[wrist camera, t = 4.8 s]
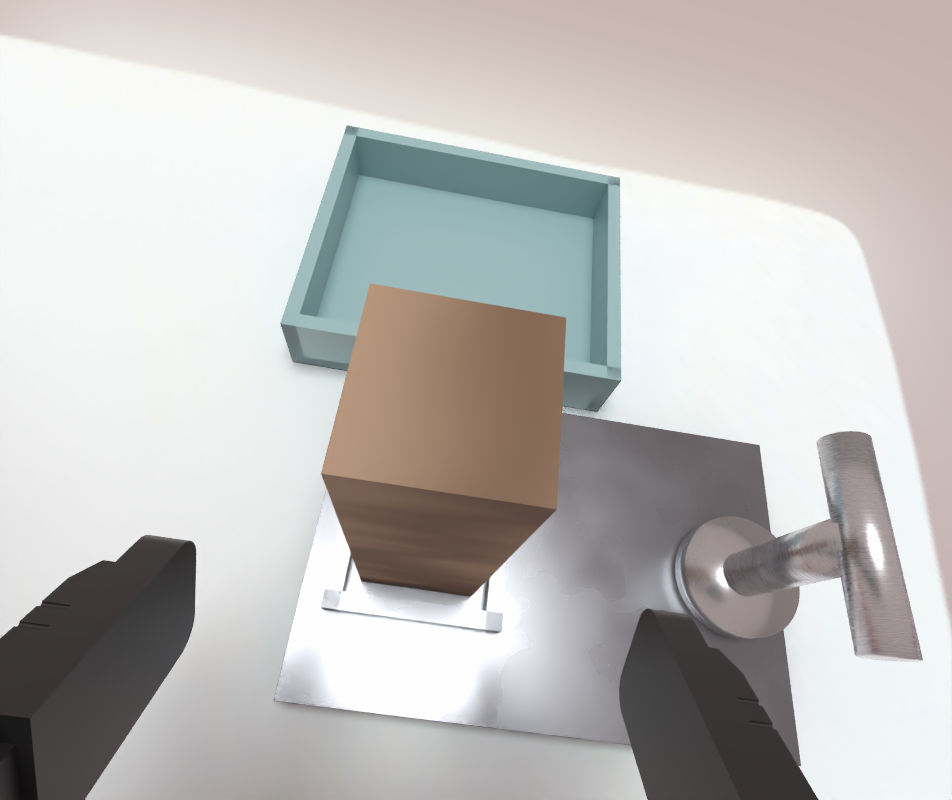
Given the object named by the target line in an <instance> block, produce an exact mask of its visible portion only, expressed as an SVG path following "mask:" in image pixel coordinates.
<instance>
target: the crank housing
mask: <svg viewBox="0 0 952 800" xmlns="http://www.w3.org/2000/svg"><path fill="white" fill-rule="evenodd" d="M817 448H818V453H819V459H820V465H821V470H822V476H823V481H824V487H825V492H826V498H827V503H828V509H829V514H830V519H828V520H826V521H823V522H820V523H817V524H814V525H812V526H809V527H806V528H803V529H800V530H797V531H795V532H792V533H789V534H786V535H783V536H781V537H778V538H776V537H775V536H774V535H772V534H771V531H770V524H769V516H768V508H767V500H766V493H765V485H764V477H763V470H762V462H761V454H760V446H759V445H755V444H749V443H743V442H737V441H730V440H724V439H718V438H712V437H706V436H700V435H694V434H687V433H681V432H675V431H669V430H663V429H657V428H651V427H644V426H638V425H632V424H626V423H620V422H614V421H608V420H601V419H595V418H589V417H583V416H577V415H571V414H565V413H562V419H561V440H560V460H559V481H558V501H557V510H556V511H555V512H554V513H553V514H552V515H551V516H550V517H549V518H548V519H547V520H546V521H545V522H544V523H543V524H542V525H541V526H540V527H539V528H538V529H537V530H536V531H535V532H534V533H533V534H532V535H531V536H530V537H529V538H528V539H527V540H526V541H525V542H524V543H523V544H522V546H521V547H520V548H519V549H518V550H517V551H516V552H515V553H514V554H513V555H512V556H511V557H510V558H509V559H508V560H507V561H506V562H505V563H504V564H503V565H502V566H501V567H500V568H499V569H498V570H497V571H496V572H495V573H494V574H493V575H492V576H491V577H490V578H489V579H488V580H487V581H486V582H485V583H484V584H483V585H482V586H481V587H480V588H479V589H478V590H477V591H476V592H475V593H474V594H473V595H472V596H471V597H470V596H462V595H455V594H448V593H441V592H434V591H426V590H419V589H412V588H405V587H398V586H391V585H383V584H376V583H369V582H362V581H361V579H360V577H359V574H358V571H357V569H356V566H355V563H354V561H353V558H352V555H351V552H350V550H349V547H348V544H347V542H346V539H345V536H344V534H343V531H342V528H341V525H340V523H339V520H338V517H337V515H336V512H335V509H334V507H333V504H332V501H331V498H330V496H329V493H328V490H327V488H326V492H325V496H324V500H323V504H322V508H321V512H320V516H319V520H318V524H317V528H316V532H315V536H314V540H313V544H312V548H311V552H310V556H309V560H308V564H307V568H306V572H305V576H304V580H303V584H302V588H301V592H300V596H299V600H298V604H297V609H296V613H295V617H294V621H293V625H292V629H291V633H290V637H289V641H288V645H287V649H286V653H285V657H284V661H283V665H282V669H281V673H280V677H279V681H278V685H277V689H276V693H275V697H274V701H281V702H289V703H297V704H305V705H313V706H321V707H329V708H337V709H346V710H354V711H362V712H370V713H378V714H386V715H394V716H402V717H410V718H418V719H426V720H434V721H442V722H450V723H458V724H466V725H474V726H482V727H490V728H498V729H507V730H515V731H523V732H531V733H539V734H547V735H555V736H563V737H571V738H579V739H587V740H595V741H603V742H611V743H619V744H627V745H631V743H630V740H629V736H628V733H627V730H626V726H625V723H624V720H623V717H622V713H621V708H620V701H619V685H620V678H621V673H622V670H623V667H624V664H625V661H626V658H627V655H628V652H629V649H630V646H631V643H632V639H633V636H634V633H635V630H636V627H637V624H638V621H639V618H640V616H641V614H642V612H643V611H644V610H645V609H654V610H661V611H668V612H675V613H682V614H688V615H689V616H691V617H692V619H693V620H694V622H695V624H696V625H697V627H698V629H699V631H700V633H701V634H702V636H703V638H704V640H705V642H706V643H707V645H708V647H710V648H717V649H719V650H720V651H721V652H722V653H723V654H724V655H725V656H726V657H727V658H728V659H729V660H730V661H731V662H732V663H733V664H734V665H735V666H736V667H737V668H738V669H739V670H740V671H741V672H742V673H743V674H744V676H745V678H746V679H747V681H748V683H749V684H750V686H751V688H752V689H753V691H754V693H755V694H756V696H757V698H758V699H759V706H763V708H764V710H765V711H766V713H767V715H768V716H769V718H770V720H771V721H772V723H773V729H776V730H777V731H778V733H779V735H780V736H781V738H782V740H783V741H784V743H785V745H786V746H787V748H788V750H789V751H790V753H791V755H792V756H793V758H794V760H795V761H796V763H797V765H798V766H801V763H800V755H799V747H798V739H797V732H796V724H795V716H794V709H793V701H792V693H791V685H790V678H789V670H788V662H787V655H786V647H785V639H784V631H783V629H784V628H785V627H786V626H787V625H788V624H789V623H790V621H791V620H792V619H793V617H794V615H795V613H796V610H797V607H798V602H799V591H800V590H799V586H802V585H807V584H811V583H816V582H820V581H825V580H830V579H834V578H839V577H841V580H842V586H843V591H844V597H845V602H846V608H847V613H848V619H849V624H850V630H851V635H852V641H853V647H854V652H855V656H857V657H861V658H867V659H876V660H887V661H922V660H923V659H922V654H921V650H920V646H919V641H918V637H917V633H916V628H915V624H914V620H913V615H912V611H911V607H910V602H909V598H908V594H907V589H906V585H905V581H904V576H903V572H902V568H901V563H900V559H899V555H898V551H897V546H896V542H895V538H894V533H893V529H892V525H891V520H890V516H889V512H888V507H887V503H886V499H885V494H884V490H883V486H882V481H881V477H880V473H879V468H878V464H877V460H876V456H875V451H874V447H873V443H872V438H871V436H870V435H868V434H866V433H862V432H853V431H849V432H838V433H833V434H829V435H826V436H824V437H822V438H820V439H819V440H818V441H817Z"/></svg>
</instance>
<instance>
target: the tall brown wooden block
mask: <svg viewBox="0 0 952 800" xmlns="http://www.w3.org/2000/svg"><path fill="white" fill-rule="evenodd" d="M565 336H566V317H560V316H555V315H549V314H543V313H537V312H532V311H526V310H520V309H514V308H509V307H503V306H497V305H491V304H486V303H480V302H474V301H469V300H463V299H457V298H451V297H446V296H440V295H434V294H428V293H423V292H417V291H411V290H405V289H400V288H394V287H388V286H382V285H377V284H371V283H370V285H369V289H368V293H367V297H366V301H365V305H364V309H363V313H362V316H361V320H360V324H359V328H358V332H357V336H356V340H355V344H354V348H353V352H352V356H351V359H350V363H349V367H348V371H347V375H346V379H345V383H344V387H343V391H342V395H341V399H340V402H339V406H338V410H337V414H336V418H335V422H334V426H333V430H332V434H331V438H330V442H329V445H328V449H327V453H326V457H325V461H324V465H323V469H322V473H321V474H322V477H323V480H324V482H325V485H326V488H327V490H328V493H329V496H330V498H331V501H332V504H333V507H334V509H335V512H336V515H337V517H338V520H339V523H340V525H341V528H342V531H343V534H344V536H345V539H346V542H347V544H348V547H349V550H350V552H351V555H352V558H353V561H354V563H355V566H356V569H357V571H358V574H359V577H360V579H361V581H362V582H369V583H376V584H383V585H391V586H398V587H405V588H412V589H419V590H426V591H434V592H441V593H448V594H455V595H462V596H470V597H471V596H472V595H473V594H474V593H475V592H476V591H477V590H478V589H479V588H480V587H481V586H482V585H483V584H484V583H485V582H486V581H487V580H488V579H489V578H490V577H491V576H492V575H493V574H494V573H495V572H496V571H497V570H498V569H499V568H500V567H501V566H502V565H503V564H504V563H505V562H506V561H507V560H508V559H509V558H510V557H511V556H512V555H513V554H514V553H515V552H516V551H517V550H518V549H519V548H520V547H521V546H522V544H523V543H524V542H525V541H526V540H527V539H528V538H529V537H530V536H531V535H532V534H533V533H534V532H535V531H536V530H537V529H538V528H539V527H540V526H541V525H542V524H543V523H544V522H545V521H546V520H547V519H548V518H549V517H550V516H551V515H552V514H553V513H554V512H555V511H556V510H557V501H558V481H559V460H560V440H561V419H562V398H563V378H564V357H565Z"/></svg>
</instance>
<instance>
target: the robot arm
mask: <svg viewBox="0 0 952 800" xmlns="http://www.w3.org/2000/svg"><path fill="white" fill-rule="evenodd" d="M195 580H196V548H195V544H194V543H193V542H192V541H186V540H179V539H173V538H166V537H159V536H152V535H145V536H143V537H141V538H140V539H139V540H138V541H137V542H136V543H135V544H134V545H133V546H132V547H131V548H129V549H128V550H127V551H126V552H125V553H124V554H123V555H122V556H121V557H120V558H119V559H118V560H117V561H116V562H112V561H105V560H103V561H101V562H99V563H97V564H95V565H93V566H91V567H89V568H87V569H85V570H83V571H81V572H79V573H77V574H75V575H73V576H71V577H69V578H68V579H67V580H65V581H64V582H63V583H62V584H61V585H60V586H59V587H58V588H56V589H55V590H54V591H53V592H52V593H51V594H50V595H49V596H48V597H46V598H45V599H44V600H43V601H42V604H41V606H36V607H35V608H34V609H33V610H32V611H31V612H30V613H28V614H27V615H26V616H25V617H24V618H23V619H22V620H21V621H20V623H19V625H18V627H13V628H12V629H11V630H9V631H8V632H7V633H6V634H5V635H4V636H3V637H2V638H0V800H85V798H86V797H87V795H88V794H89V792H90V791H91V789H92V788H93V786H94V785H95V783H96V782H97V780H98V779H99V777H100V776H101V774H102V773H103V771H104V769H105V768H106V766H107V765H108V763H109V762H110V760H111V759H112V757H113V756H114V754H115V753H116V751H117V750H118V748H119V747H120V745H121V744H122V742H123V741H124V739H125V738H126V736H127V735H128V733H129V732H130V730H131V729H132V727H133V726H134V724H135V723H136V721H137V720H138V718H139V717H140V715H141V714H142V712H143V711H144V709H145V708H146V706H147V705H148V703H149V702H150V700H151V699H152V697H153V696H154V694H155V693H156V691H157V690H158V688H159V687H160V685H161V684H162V682H163V681H164V679H165V678H166V676H167V675H168V673H169V672H170V670H171V669H172V667H173V666H174V664H175V663H176V661H177V660H178V658H179V657H180V655H181V654H182V652H183V650H184V648H185V646H186V644H187V642H188V639H189V637H190V634H191V630H192V627H193V622H194V616H195ZM619 701H620V708H621V713H622V717H623V720H624V723H625V726H626V730H627V733H628V736H629V740H630V743H631V746H632V749H633V753H634V756H635V759H636V763H637V766H638V769H639V772H640V776H641V779H642V782H643V786H644V789H645V792H646V796H647V799H648V800H818V798H817V797H816V795H815V793H814V792H813V790H812V788H811V787H810V785H809V783H808V782H807V780H806V778H805V777H804V775H803V773H802V772H801V770H800V768H799V766H798V765H797V763H796V761H795V760H794V758H793V756H792V755H791V753H790V751H789V750H788V748H787V746H786V745H785V743H784V741H783V740H782V738H781V736H780V735H779V733H778V731H777V730H776V729H773V723H772V721H771V720H770V718H769V716H768V715H767V713H766V711H765V710H764V708H763V706H759V699H758V698H757V696H756V694H755V693H754V691H753V689H752V688H751V686H750V684H749V683H748V681H747V679H746V678H745V676H744V674H743V673H742V672H741V671H740V670H739V669H738V668H737V667H736V666H735V665H734V664H733V663H732V662H731V661H730V660H729V659H728V658H727V657H726V656H725V655H724V654H723V653H722V652H721V651H720V650H719V649H717V648H710V647H708V645H707V643H706V642H705V640H704V638H703V636H702V634H701V633H700V631H699V629H698V627H697V625H696V624H695V622H694V620H693V619H692V617H691V616H689V615H688V614H682V613H675V612H668V611H661V610H654V609H645V610H644V611H643V612H642V614H641V616H640V618H639V621H638V624H637V627H636V630H635V633H634V636H633V639H632V643H631V646H630V649H629V652H628V655H627V658H626V661H625V664H624V667H623V670H622V673H621V678H620V685H619Z"/></svg>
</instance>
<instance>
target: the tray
mask: <svg viewBox="0 0 952 800" xmlns="http://www.w3.org/2000/svg"><path fill="white" fill-rule="evenodd" d="M370 283H371V284H377V285H382V286H388V287H394V288H400V289H405V290H411V291H417V292H423V293H428V294H434V295H440V296H446V297H451V298H457V299H463V300H469V301H474V302H480V303H486V304H491V305H497V306H503V307H509V308H514V309H520V310H526V311H532V312H537V313H543V314H549V315H555V316H560V317H566V336H565V357H564V378H563V398H562V406H568V407H574V408H580V409H586V410H592V411H598V410H599V409H600V407H601V406H602V405H603V404H604V402H605V401H606V400H607V398H608V397H609V396H610V395H611V393H612V392H613V391H614V389H615V388H616V387H617V385H618V384H619V383H620V382H621V294H620V178H617V177H612V176H607V175H602V174H597V173H591V172H586V171H581V170H576V169H571V168H565V167H560V166H555V165H550V164H545V163H539V162H534V161H529V160H524V159H519V158H513V157H508V156H503V155H498V154H493V153H487V152H482V151H477V150H472V149H467V148H461V147H456V146H451V145H446V144H441V143H435V142H430V141H425V140H420V139H415V138H409V137H404V136H399V135H394V134H389V133H383V132H378V131H373V130H368V129H363V128H357V127H352V126H347V127H346V130H345V133H344V136H343V139H342V142H341V145H340V148H339V151H338V154H337V157H336V160H335V163H334V166H333V169H332V171H331V174H330V177H329V180H328V183H327V186H326V189H325V192H324V195H323V198H322V201H321V204H320V207H319V210H318V213H317V216H316V219H315V222H314V225H313V228H312V231H311V234H310V237H309V240H308V243H307V246H306V249H305V252H304V255H303V258H302V261H301V264H300V267H299V270H298V273H297V276H296V279H295V282H294V285H293V288H292V291H291V294H290V297H289V300H288V303H287V306H286V309H285V312H284V315H283V318H282V321H281V327H282V330H283V333H284V336H285V339H286V342H287V345H288V348H289V351H290V354H291V357H292V360H293V362H299V363H305V364H311V365H317V366H323V367H329V368H336V369H342V370H348V367H349V363H350V359H351V356H352V352H353V348H354V344H355V340H356V336H357V332H358V328H359V324H360V320H361V316H362V313H363V309H364V305H365V301H366V297H367V293H368V289H369V285H370Z"/></svg>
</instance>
